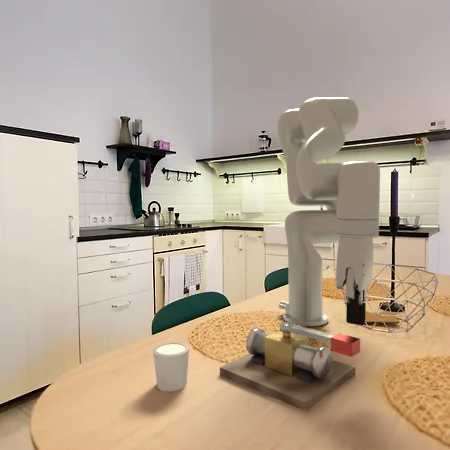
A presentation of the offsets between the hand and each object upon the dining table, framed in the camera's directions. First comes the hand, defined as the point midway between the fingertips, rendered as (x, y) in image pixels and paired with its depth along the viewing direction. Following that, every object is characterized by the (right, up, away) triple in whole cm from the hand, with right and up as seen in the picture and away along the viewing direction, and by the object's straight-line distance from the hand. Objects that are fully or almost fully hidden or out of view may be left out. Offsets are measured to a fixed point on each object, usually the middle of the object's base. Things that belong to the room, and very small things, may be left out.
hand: (355, 322), depth 74 cm
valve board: (-13, -11, +3) cm, 17 cm away
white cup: (-35, -12, 0) cm, 37 cm away
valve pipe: (-13, -10, +3) cm, 16 cm away
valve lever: (-8, -3, -2) cm, 9 cm away
